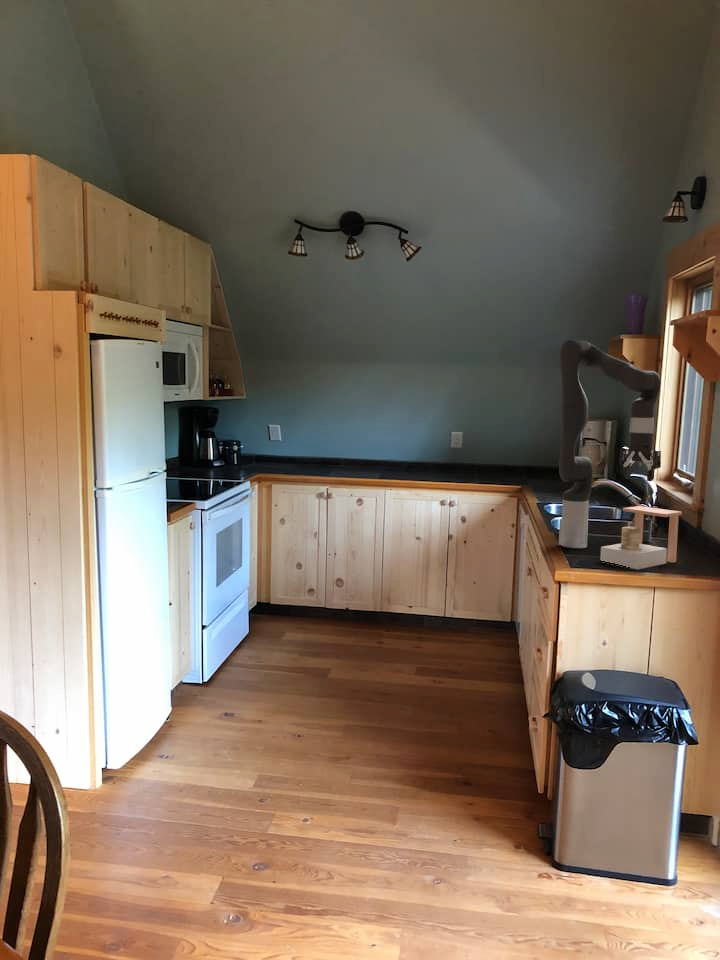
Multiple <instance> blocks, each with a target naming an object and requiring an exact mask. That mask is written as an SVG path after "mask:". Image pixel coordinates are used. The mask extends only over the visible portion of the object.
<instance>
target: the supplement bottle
mask: <svg viewBox="0 0 720 960" xmlns="http://www.w3.org/2000/svg"><path fill="white" fill-rule="evenodd" d="M650 516H651V515H647V514H644V517H643V537H642V542H649V543H651V539H652V528H653V527H652V525H653V520H652V518H651V517H650ZM634 526H635V516H634V517H633V519H632V527H634Z"/></svg>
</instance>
